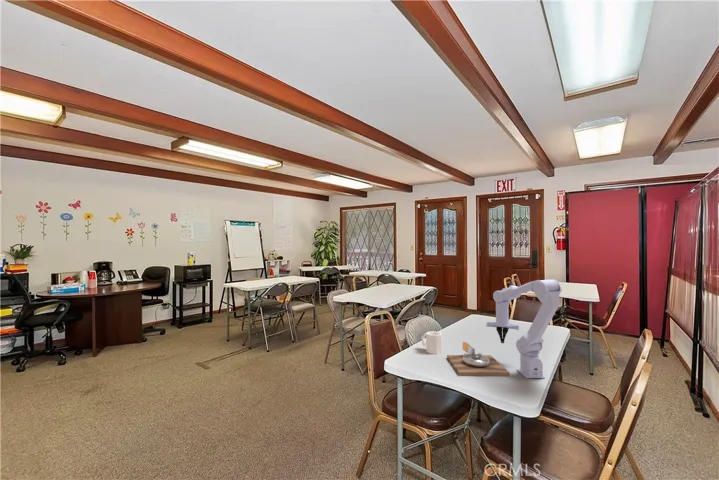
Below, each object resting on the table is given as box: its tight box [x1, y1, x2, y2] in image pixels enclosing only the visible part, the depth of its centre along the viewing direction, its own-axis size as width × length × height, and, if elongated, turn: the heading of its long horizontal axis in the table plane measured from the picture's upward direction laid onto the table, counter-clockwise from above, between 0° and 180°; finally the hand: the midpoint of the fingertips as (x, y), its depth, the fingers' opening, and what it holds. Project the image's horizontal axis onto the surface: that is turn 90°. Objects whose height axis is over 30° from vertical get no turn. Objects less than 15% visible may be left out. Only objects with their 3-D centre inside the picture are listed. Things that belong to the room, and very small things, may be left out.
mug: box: [420, 330, 443, 355], centre depth 174 cm, size 12×9×10 cm
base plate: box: [446, 354, 511, 377], centre depth 152 cm, size 22×22×2 cm
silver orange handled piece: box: [462, 341, 490, 367], centre depth 156 cm, size 20×12×6 cm, turn 5°
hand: (502, 342), depth 158 cm, fingers closed
